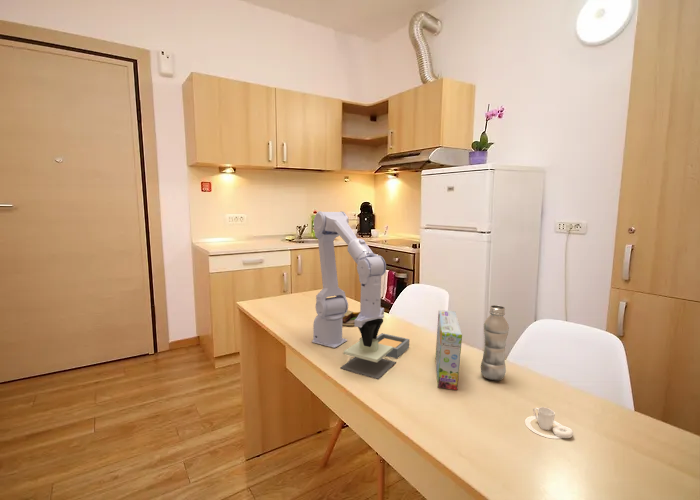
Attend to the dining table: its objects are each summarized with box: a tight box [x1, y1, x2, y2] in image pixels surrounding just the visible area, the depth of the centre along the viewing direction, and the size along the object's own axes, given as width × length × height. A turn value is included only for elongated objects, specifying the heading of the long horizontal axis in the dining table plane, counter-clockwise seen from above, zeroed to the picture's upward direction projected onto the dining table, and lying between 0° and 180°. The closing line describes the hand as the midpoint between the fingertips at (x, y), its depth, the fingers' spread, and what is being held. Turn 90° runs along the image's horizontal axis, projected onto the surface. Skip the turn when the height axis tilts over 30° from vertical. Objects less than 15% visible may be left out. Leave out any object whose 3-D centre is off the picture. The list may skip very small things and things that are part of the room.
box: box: [376, 333, 410, 360], centre depth 116 cm, size 10×10×3 cm
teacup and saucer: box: [524, 406, 574, 440], centre depth 76 cm, size 9×8×4 cm
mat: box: [340, 356, 397, 380], centre depth 104 cm, size 12×12×1 cm
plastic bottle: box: [480, 304, 510, 382], centre depth 97 cm, size 6×7×20 cm
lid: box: [342, 336, 393, 362], centre depth 104 cm, size 11×11×4 cm
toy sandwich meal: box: [342, 309, 360, 327], centre depth 143 cm, size 12×14×5 cm
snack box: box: [435, 309, 463, 391], centre depth 101 cm, size 21×6×15 cm, turn 168°
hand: (369, 344), depth 103 cm, fingers closed on lid, 2 cm apart
